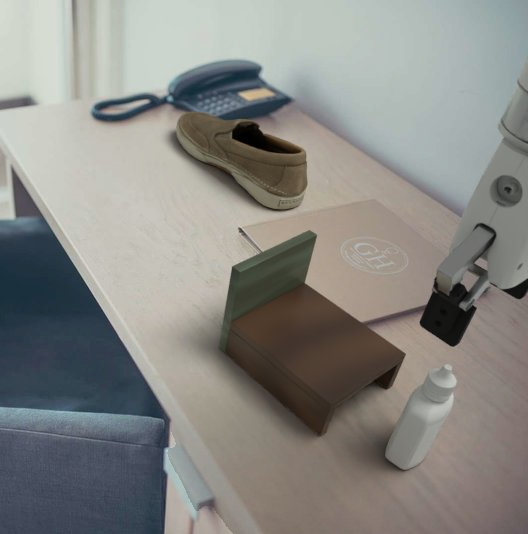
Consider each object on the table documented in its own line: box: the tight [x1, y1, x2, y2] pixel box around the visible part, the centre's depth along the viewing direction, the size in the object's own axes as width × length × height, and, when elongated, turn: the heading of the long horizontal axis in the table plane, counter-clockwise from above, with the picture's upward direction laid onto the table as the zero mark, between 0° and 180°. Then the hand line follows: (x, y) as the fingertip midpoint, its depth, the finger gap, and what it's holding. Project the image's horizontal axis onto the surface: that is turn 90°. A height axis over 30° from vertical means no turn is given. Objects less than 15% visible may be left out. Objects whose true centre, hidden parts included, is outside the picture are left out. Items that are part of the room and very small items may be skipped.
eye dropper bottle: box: [384, 363, 458, 471], centre depth 60 cm, size 4×6×12 cm
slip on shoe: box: [175, 111, 308, 210], centre depth 105 cm, size 30×11×9 cm, turn 25°
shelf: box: [218, 229, 407, 437], centre depth 69 cm, size 15×12×12 cm
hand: (472, 311), depth 53 cm, fingers open, 9 cm apart
